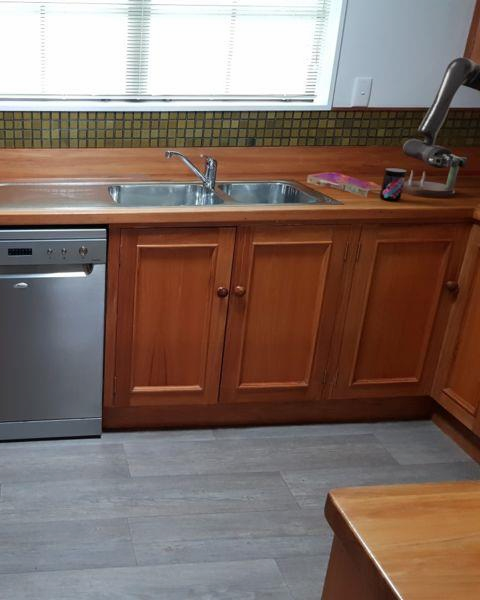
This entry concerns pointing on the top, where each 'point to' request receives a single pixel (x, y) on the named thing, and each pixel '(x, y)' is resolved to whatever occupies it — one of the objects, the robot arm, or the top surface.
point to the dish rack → (432, 186)
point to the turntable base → (428, 194)
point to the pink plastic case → (345, 182)
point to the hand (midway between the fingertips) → (459, 164)
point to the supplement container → (392, 184)
